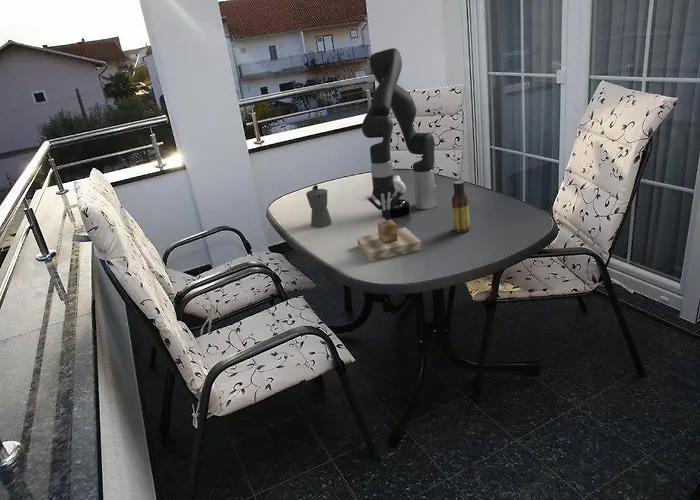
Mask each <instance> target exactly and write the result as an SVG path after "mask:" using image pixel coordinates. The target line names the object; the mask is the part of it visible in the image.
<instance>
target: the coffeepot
mask: <svg viewBox="0 0 700 500" xmlns="http://www.w3.org/2000/svg"><path fill="white" fill-rule="evenodd" d="M305 194H306V199H307V202H308V204H309V207H310V208H311V213H310V214H311V215H310V216H311V218H310V219H311V221H310V222H311V223H310V225H311V227H313V228H315V229H317V228H318V229H320V228H326V227H329V226H330V225H331V224H332V223H333V222H332V218H331V216H330V212H329V209H328V208H327V206H328V189H325V188H318V185H317V184H316V185H314V186H312V189H311V190H308V191H307V192H306V193H305Z"/></svg>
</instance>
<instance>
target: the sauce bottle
mask: <svg viewBox="0 0 700 500" xmlns="http://www.w3.org/2000/svg"><path fill="white" fill-rule="evenodd" d="M452 184H453V189H454V190H453V196H452V197H451V203H452V204H451V209H452V220H453V221H452V222H453V228H454V229H453V230H454V231H455V232H456V233H466V232H469V231H470V226H471V224H470V210H469V208H470V207H469V206H470V205H469V201H468V196H467V195H466V193H465V181H464V180H455V181H453V183H452Z"/></svg>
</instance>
